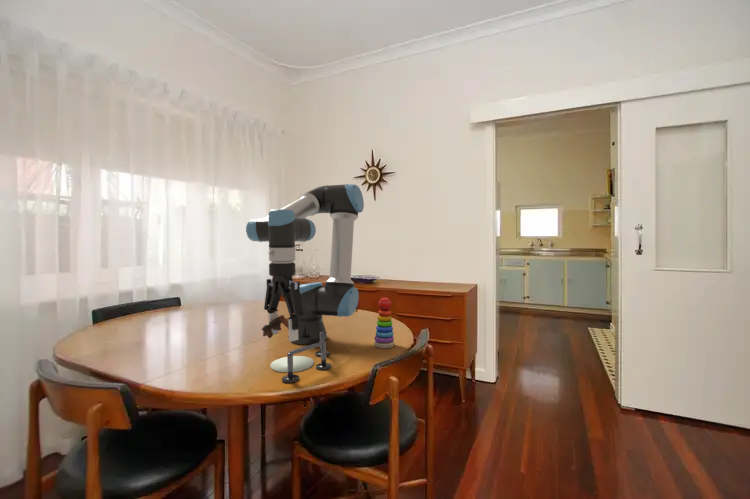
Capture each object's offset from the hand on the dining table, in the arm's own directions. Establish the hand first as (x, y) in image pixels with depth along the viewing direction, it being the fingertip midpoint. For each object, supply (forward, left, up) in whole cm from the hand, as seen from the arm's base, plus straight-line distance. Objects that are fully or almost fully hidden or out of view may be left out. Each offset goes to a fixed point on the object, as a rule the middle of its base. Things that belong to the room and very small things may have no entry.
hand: (283, 337), depth 106 cm
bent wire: (-3, +11, -13) cm, 17 cm away
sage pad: (-8, +9, -13) cm, 18 cm away
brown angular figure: (0, 0, -1) cm, 1 cm away
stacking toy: (+3, +44, -13) cm, 46 cm away
